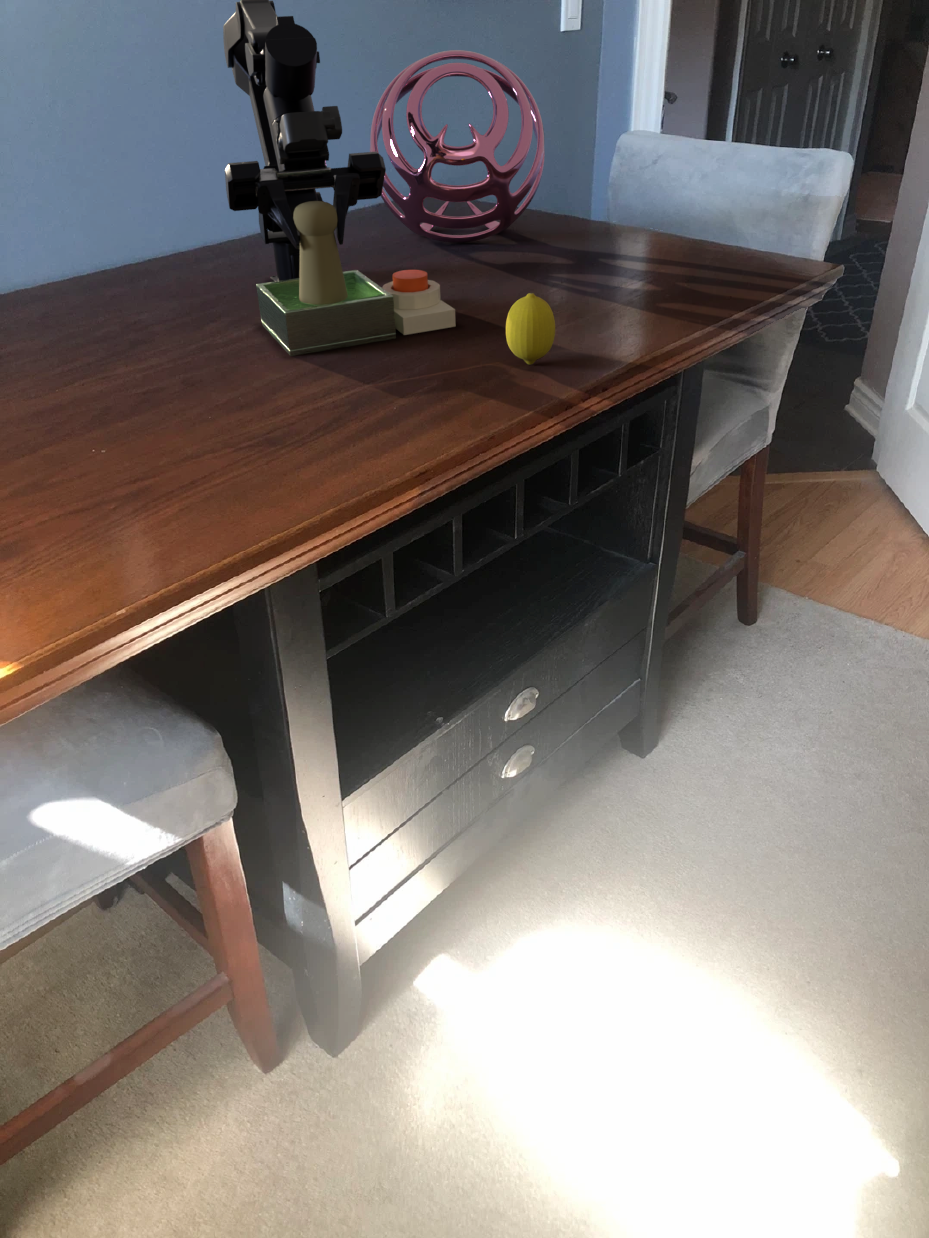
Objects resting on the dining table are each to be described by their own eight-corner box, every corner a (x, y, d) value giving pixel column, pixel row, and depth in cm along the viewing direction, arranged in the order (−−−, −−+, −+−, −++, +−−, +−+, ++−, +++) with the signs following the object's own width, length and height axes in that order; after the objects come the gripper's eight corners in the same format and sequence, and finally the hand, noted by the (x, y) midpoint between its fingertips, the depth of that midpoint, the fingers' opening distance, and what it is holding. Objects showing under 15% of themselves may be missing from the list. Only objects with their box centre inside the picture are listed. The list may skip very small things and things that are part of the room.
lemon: (521, 376, 109) (521, 303, 105) (497, 361, 114) (496, 291, 109) (563, 367, 112) (565, 295, 107) (538, 353, 116) (539, 283, 111)
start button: (388, 288, 127) (387, 272, 126) (420, 283, 128) (419, 268, 127) (401, 296, 123) (400, 281, 122) (433, 291, 125) (432, 276, 124)
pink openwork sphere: (399, 88, 171) (388, -11, 144) (555, 130, 171) (574, 39, 144) (358, 245, 171) (340, 175, 144) (514, 287, 171) (526, 225, 144)
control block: (370, 310, 131) (367, 279, 129) (421, 302, 134) (419, 271, 131) (402, 335, 122) (400, 303, 120) (456, 326, 125) (455, 294, 122)
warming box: (261, 325, 127) (255, 284, 124) (360, 309, 131) (356, 269, 129) (290, 356, 117) (284, 312, 114) (396, 338, 121) (393, 296, 118)
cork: (290, 296, 123) (278, 202, 116) (333, 287, 125) (324, 194, 119) (313, 308, 119) (302, 211, 112) (357, 298, 121) (349, 203, 115)
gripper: (212, 85, 110) (238, 212, 107) (376, 75, 114) (404, 197, 111) (217, 150, 120) (241, 267, 118) (367, 139, 125) (393, 251, 122)
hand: (319, 245), depth 117 cm, fingers closed on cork, 5 cm apart
